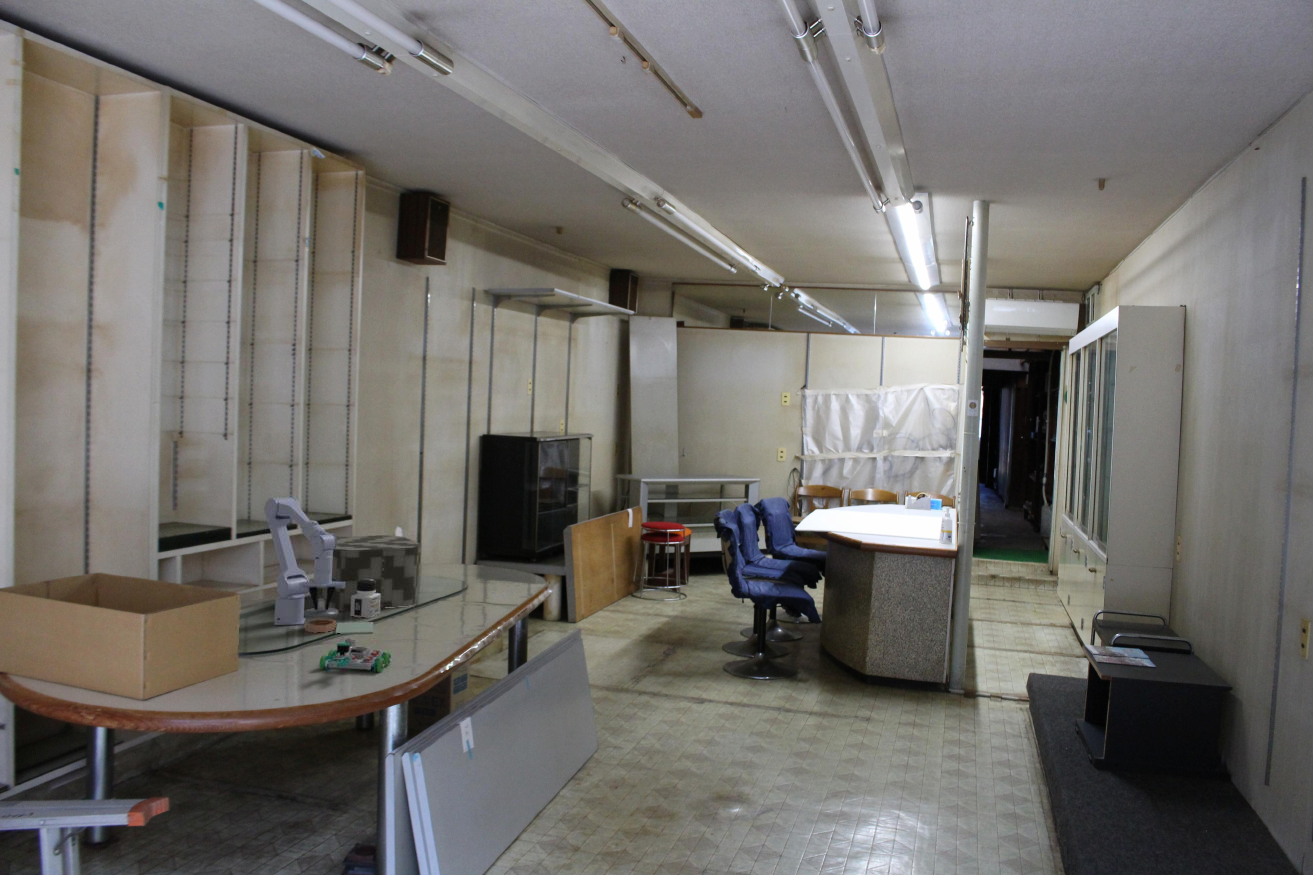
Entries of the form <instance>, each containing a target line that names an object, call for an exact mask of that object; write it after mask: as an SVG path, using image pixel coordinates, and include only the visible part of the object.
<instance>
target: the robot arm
mask: <svg viewBox="0 0 1313 875" xmlns="http://www.w3.org/2000/svg"><path fill="white" fill-rule="evenodd" d="M300 505H301V504H300V501H299V500H298V499H297V498H296V497H295V496H289V497H277V498H276V497H275V498H274V497H270V498H267V500H266V502H265V505H264V507H263V510H264V513H265V514H264V515H265V518H266V522H267V524H268V526H269V530H270V534H271V537H272V541H273V545H274V548H275V552H276V556H277V560H278V563H279V566H280V571H281V572H280V573H279V575H278V576H277V577H276V579H275V580H276V590H277V594H278V595H279V597H276V598H275V604H274V617H273V619H274V623H273V625H275V626H283V625H285V626H287V625H289V626H290V625H293V626H294V625H304V624H305V623H306V617H305V615H304V611H305V597H307V594H308V593H309V595H310V597H311V598H312V603H313V607H314V610H317V591H318V588H328V589H327V603H326V610H328V608H329V603H330V600H331V598H332V595H333V594H334V592H335V588H345V582H336V581H332V559H333V550H334V549H335V548H336V546H337V539H336V537H337V536H336V535H335V533H332V532H331V533H330V532H327V531H326V530H325V529H324V528H323V527H322V526H321V525H320V523H318V521H317V520H311V519H309V517H308V516H307V515H306V514H305V512H304V511H303V510H302V509H301V507H300ZM291 521H293V522H295V523H296V524H298V525H299V527H301V533H302V534H303V535H304V536H305V538H307V540H308V541H309V542H310V544H311V545H310V546H311V549H312V551H313V554H312V555H313V557H314V565H313V566H314V570H313V581H312V580H311V581H310V579H309V578H308V576H307V573H306V572H305V570H303V569H301V568H299V567H298V563H297V559H296V556H295V552H294V549H293V545H292V542H291V538H290V535H289V532H288V528H287V525H288V524H289V523H290V522H291Z"/></svg>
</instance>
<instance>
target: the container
mask: <svg viewBox="0 0 1313 875" xmlns="http://www.w3.org/2000/svg"><path fill="white" fill-rule="evenodd" d="M375 592H376V582H375V581H374V580H371V579H363V580H360V581H358V582H357V593H358V594H355V595H352V596H351V612H350V617H351V616H354V618H361V617H365V618H364V619H371V618H374V617H376V616H378V615H377V614H379V615H380V614H381V609H380V598H381V594H380V593H375ZM375 615H376V616H375ZM373 616H374V617H373ZM370 617H371V618H370Z"/></svg>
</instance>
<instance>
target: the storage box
mask: <svg viewBox="0 0 1313 875" xmlns="http://www.w3.org/2000/svg"><path fill="white" fill-rule="evenodd" d="M335 537H336V539H337V546H336V548H335V549H334V550H333V559H332V581H336V582H345V588H335V592H334V594H333V595H332V598H331V600H330V603H329V608H334V609H337V610H338V612H342V611H351V596H352V595H355V594H358V593H357V582H358V581H360V580H363V579H371V580H374V581H375V582H376V592H375V593H380V594H381V598H380V608H385V607H398V606H409V605H414V604H416V603H417V602H418V600H419V599H418V596H419V576H420V575H419V570H420V553H421V548H422V547H421V546H422V543H419V542H417V541H414V540H411V539H409V538H407V537H404V536H399V535H386V534H385V535H380V534H379V535H358V536H357V535H355V536H353V535H352V536H335ZM327 589H328V588H318V591H317V599H327ZM326 603H327V601H326ZM414 606H415V605H414Z"/></svg>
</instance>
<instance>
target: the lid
mask: <svg viewBox="0 0 1313 875" xmlns="http://www.w3.org/2000/svg"><path fill="white" fill-rule="evenodd" d="M326 601H327V599H317V610H314V608H308V609H304V617H305V616H306V617H310V618H328V617H334V616H337V615H339V611H338V610H337V609H334V608H328V610H326Z"/></svg>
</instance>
